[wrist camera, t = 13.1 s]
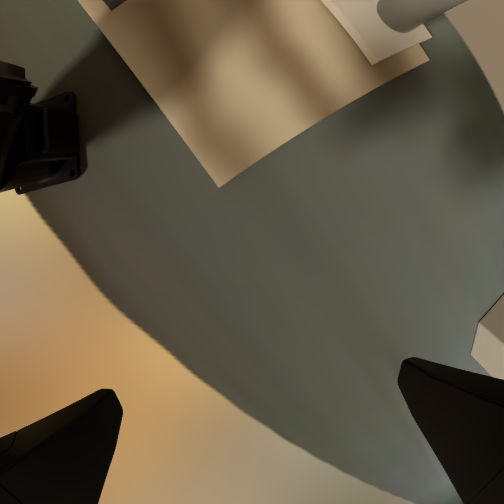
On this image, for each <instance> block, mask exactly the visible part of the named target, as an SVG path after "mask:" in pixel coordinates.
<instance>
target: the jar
mask: <svg viewBox="0 0 504 504" xmlns="http://www.w3.org/2000/svg"><path fill="white" fill-rule="evenodd" d="M471 355H472V356H473V357H474V358H475V359H476V360H477V361H478V362H479V364H480V365H481V366H482V367H483V368H484V369H485V370H486V371H487V372H488V373H489V374H490V375H491V376H492V377H494V378H499V379H503V380H504V295H502V297H501V298H500V299H499V300H498V301H497V302H496V304H495V305H494V306H493V307H492V308H491V309H490V310H489V312H488V313H487V314H486V315H485V316H484V317H483V318H482V319H481V320H480V321H479V323H478V327H477V331H476V335H475V340H474V344H473V347H472V351H471Z"/></svg>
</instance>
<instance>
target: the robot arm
mask: <svg viewBox="0 0 504 504" xmlns="http://www.w3.org/2000/svg"><path fill="white" fill-rule="evenodd" d="M31 83H32V82H30V81H28V80H26V79H25V68H22V67H20V66H16V65H13V64H10V63H6V62H3V61H0V192H3V191H7V190H11V189H15V191H16V193H17V194H19V195H20V194H24V193H27V192H30V191H34V190H37V189H41V188H45V187H48V186H52V185H56V184H60V183H64V182H68V181H72V180H76V179H78V178H79V177H80V174H81V170H80V161H79V151H78V150H79V148H80V144H79V130H78V115H77V114H76V97H75V94H74V93H72V92H66V93H63V94H60V95H58V96H55V97H53V98H50V99H48V100H45V101H43V102H41V103H38V104H33V103H30V101H31V99H32V97H34V96H35V94H36V91H37V89H38V88H37V87H35V86H32V85H31ZM69 96H70V100H69V101H68V102H67V98H68V97H69ZM73 170H75V175H74V176H73V174H72V171H73ZM20 187H21V190H20ZM398 386H399V388H400V390H401V393H402V395H403V397H404V399H405V401H406V403H407V405H408V408H409V410H410V412H411V414H412V416H413V418H414V420H415V421H416V423H417V425H418V426H419V428H420V430H421V431H422V433H423V435H424V436H425V438H426V439H427V441H428V443H429V444H430V446H431V448H432V449H433V451H434V453H435V454H436V456H437V458H438V460H439V461H440V463H441V465H442V466H443V468H444V470H445V472H446V473H447V475H448V477H449V479H450V480H451V482H452V484H453V486H454V487H455V489H456V491H457V493H458V495H459V496H460V498H461V500H462V502H463V504H504V380H503V379H499V378H494V377H490V376H486V375H482V374H477V373H473V372H469V371H465V370H461V369H457V368H454V367H450V366H446V365H442V364H438V363H435V362H431V361H427V360H424V359H420V358H417V357H411V358H408V359H405V360H403V362H402V364H401V368H400V372H399V376H398ZM122 415H123V409H122V406H121V404H120V402H119V400H118V398H117V396H116V394H115V392H114V391H113V390H112V389H100V390H98V391H96V392H94V393H92V394H90V395H88V396H86V397H84V398H82V399H81V400H79V401H77V402H75V403H73V404H71V405H69V406H67V407H65V408H63V409H61V410H59V411H57V412H55V413H53V414H51V415H49V416H47V417H45V418H43V419H41V420H39V421H37V422H34V423H32V424H30V425H28V426H26V427H24V428H22V429H20V430H18V431H17V432H16V431H15V432H12V433H10V434H8V435H6V436H3V437H1V438H0V504H98V502H99V498H100V495H101V492H102V489H103V486H104V482H105V479H106V476H107V473H108V470H109V467H110V463H111V461H112V458H113V455H114V451H115V448H116V444H117V439H118V435H119V430H120V425H121V420H122Z"/></svg>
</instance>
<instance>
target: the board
mask: <svg viewBox="0 0 504 504" xmlns="http://www.w3.org/2000/svg"><path fill="white" fill-rule="evenodd" d="M78 1H79V3H80V4H81V5H82V7H83V8H84V9H85V10H86V12H87V13H88V14H89V16H90V17H91V18H92V19H93V21H94V22H95V23H96V25H97V26H98V27H99V29H100V30H101V31H102V32H103V34H104V35H105V36H106V38H107V39H108V40H109V42H110V43H111V44H112V45H113V47H114V48H115V49H116V51H117V52H118V53H119V55H120V56H121V57H122V59H123V60H124V61H125V62H126V64H127V65H128V66H129V68H130V69H131V70H132V72H133V73H134V74H135V76H136V77H137V78H138V80H139V81H140V82H141V84H142V85H143V86H144V88H145V89H146V90H147V92H148V93H149V94H150V96H151V97H152V98H153V100H154V101H155V102H156V104H157V105H158V106H159V108H160V109H161V110H162V112H163V113H164V114H165V116H166V117H167V118H168V120H169V121H170V122H171V124H172V125H173V126H174V128H175V129H176V130H177V132H178V133H179V134H180V136H181V137H182V138H183V140H184V141H185V142H186V144H187V145H188V146H189V148H190V149H191V151H192V152H193V153H194V155H195V156H196V157H197V159H198V160H199V161H200V163H201V164H202V165H203V167H204V168H205V169H206V171H207V172H208V174H209V175H210V176H211V178H212V179H213V180H214V182H215V183H216V184H217V186H218V187H219V188H220V187H221V186H222V185H224V184H225V183H227V182H228V181H229V180H231V179H232V178H234V177H235V176H237V175H238V174H239V173H241V172H242V171H244V170H245V169H247V168H248V167H249V166H251V165H252V164H254V163H255V162H257V161H258V160H260V159H261V158H263V157H264V156H266V155H267V154H269V153H270V152H272V151H273V150H275V149H276V148H278V147H279V146H281V145H282V144H284V143H285V142H287V141H289V140H290V139H292V138H293V137H295V136H296V135H298V134H300V133H301V132H303V131H304V130H306V129H307V128H309V127H311V126H312V125H314V124H316V123H317V122H319V121H320V120H322V119H324V118H325V117H327V116H329V115H330V114H332V113H334V112H335V111H337V110H339V109H340V108H342V107H344V106H345V105H347V104H349V103H351V102H352V101H354V100H356V99H358V98H359V97H361V96H363V95H365V94H366V93H368V92H370V91H372V90H374V89H375V88H377V87H379V86H381V85H383V84H385V83H386V82H388V81H390V80H392V79H394V78H396V77H398V76H400V75H402V74H403V73H405V72H407V71H409V70H411V69H413V68H415V67H417V66H419V65H421V64H423V63H425V62H427V61H429V58H428V57H427V55H426V53H425V52H424V50H423V49H422V47H421V46H420V44H417V45H414V46H412V47H410V48H407V49H405V50H403V51H401V52H399V53H396V54H394V55H392V56H390V57H388V58H386V59H384V60H382V61H379V62H377V63H375V64H373V65H371V63H370V62H369V60H368V59H367V58H366V56H365V55H364V53H363V52H362V51H361V49H360V48H359V46H358V45H357V44H356V42H355V41H354V40H353V38H352V37H351V36H350V35H349V33H348V32H347V31H346V29H345V28H344V27H343V26H342V24H341V23H340V22H339V21H338V20H337V18H336V17H335V16H334V15H333V14H332V13H331V11H330V10H329V9H328V8H327V7H326V6H325V4H324V3H323V2H322V1H321V0H78Z"/></svg>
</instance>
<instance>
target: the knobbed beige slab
mask: <svg viewBox="0 0 504 504" xmlns="http://www.w3.org/2000/svg"><path fill="white" fill-rule="evenodd" d="M321 1H322V2H323V3H324V4H325V6H326V7H327V8H328V9H329V10H330V11H331V13H332V14H333V15H334V16H335V17H336V18H337V20H338V21H339V22H340V23H341V24H342V26H343V27H344V28H345V29H346V31H347V32H348V33H349V35H350V36H351V37H352V38H353V40H354V41H355V42H356V44H357V45H358V46H359V48H360V49H361V51H362V52H363V53H364V55H365V56H366V58H367V59H368V60H369V62H370V63H371V65H373V64H375V63H377V62H379V61H382V60H384V59H386V58H388V57H390V56H392V55H394V54H396V53H399V52H401V51H403V50H405V49H407V48H410V47H412V46H414V45H417V44H419V43H421V42H424V41H426V40H428V39H430V38H432V36H431V35H430V33H429V32H428V30H427V29H426V27H425V26H424V25H423V24H424V23H425V22H427V21H429V20H431V19H433V18H434V17H436V16H438V15H440V14H442V13H444V12H446V11H447V10H449V9H451V8H453V7H455V6H457V5H459V4H461V3H463V2H465V1H467V0H321Z"/></svg>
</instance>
